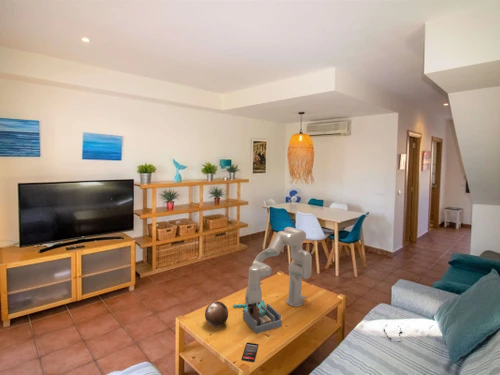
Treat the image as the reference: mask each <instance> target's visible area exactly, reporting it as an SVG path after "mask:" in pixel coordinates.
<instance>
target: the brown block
mask: <svg viewBox="0 0 500 375" xmlns="http://www.w3.org/2000/svg"><path fill="white" fill-rule="evenodd" d="M252 308H253V314H251V313H250V311H249V310H250V307H249V306H248V312H249V313H250V315H251V316H252V317H253V318H254V319H255V320H256V321H257V326H259V308H258V307H257V306H256V305H255V304H254V303H253V306H252Z"/></svg>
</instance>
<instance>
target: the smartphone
mask: <svg viewBox="0 0 500 375" xmlns="http://www.w3.org/2000/svg"><path fill="white" fill-rule="evenodd" d="M258 350H259V344H258V343H256V342H255V343H254V342H246V343H245V346H244V350H243V354H242V356H241V359H240V360H241V361H242V362H243V361H244V362H248V363H255V361H256V357H257V353H258Z"/></svg>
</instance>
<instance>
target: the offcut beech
mask: <svg viewBox="0 0 500 375" xmlns="http://www.w3.org/2000/svg"><path fill="white" fill-rule="evenodd" d="M260 318H261V319H262V320H263V324H267V323H270V322H271V319H270V318H269V317H268V316H267V315H265V316H262V317H260Z"/></svg>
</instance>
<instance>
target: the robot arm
mask: <svg viewBox="0 0 500 375" xmlns="http://www.w3.org/2000/svg"><path fill="white" fill-rule="evenodd" d="M306 238H307V233H306V231H305V230H303V229H299V228H297V227H296V228H295V227H291V226H287V227H285V228H284V229H283V230H280V231H278V232H277V233H276V234H275V235H274V237H273V239H272V240H271V243H269V246H268V247H267V248H266V249H264V250H262V251H261V252H259V253H258V254H257V255H256V257H255V258H254V260H253V262H252V263H251V266H249V268H248V285H247V287H246V291H245V297H244V298H245V299H244V301H245V302H244V304H245V305H246V306H249V307H250V310H249V311H250V313H251V314H253V308H252V306H253V303H254V304H255V305H256V306H257V307H258V305H259V303H261V302H262V300H263V298H262V297H263V296H262V294H263V293H262V286H261V285H262V283H263V282H261V278H267V277H269V276H271V274H272V267H271V266H270V265H268V264H266V263H264V260H266V259H268V258H270V257H276V256H279V255H280V254H281V252H282V250H283V249H284V247H285V246H289V247H290V259H291V260H292V261H291V262H289V264H288V275H289V276H288V278H289V280H288V297H287V298H286V300H285V302H286V304H287V305H289V306H291V307H301V306H302V305H303V304H304V301H303V300H305V299H307V296H306V295H303V294H302V289H303V288H302V287H303V279H304V280H307V279H309V278H310V277H311V275H312V265H313V264H312V259H313V257H312V255H311V253H310V251H307V250H304V249H303V242H305V240H306Z"/></svg>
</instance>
